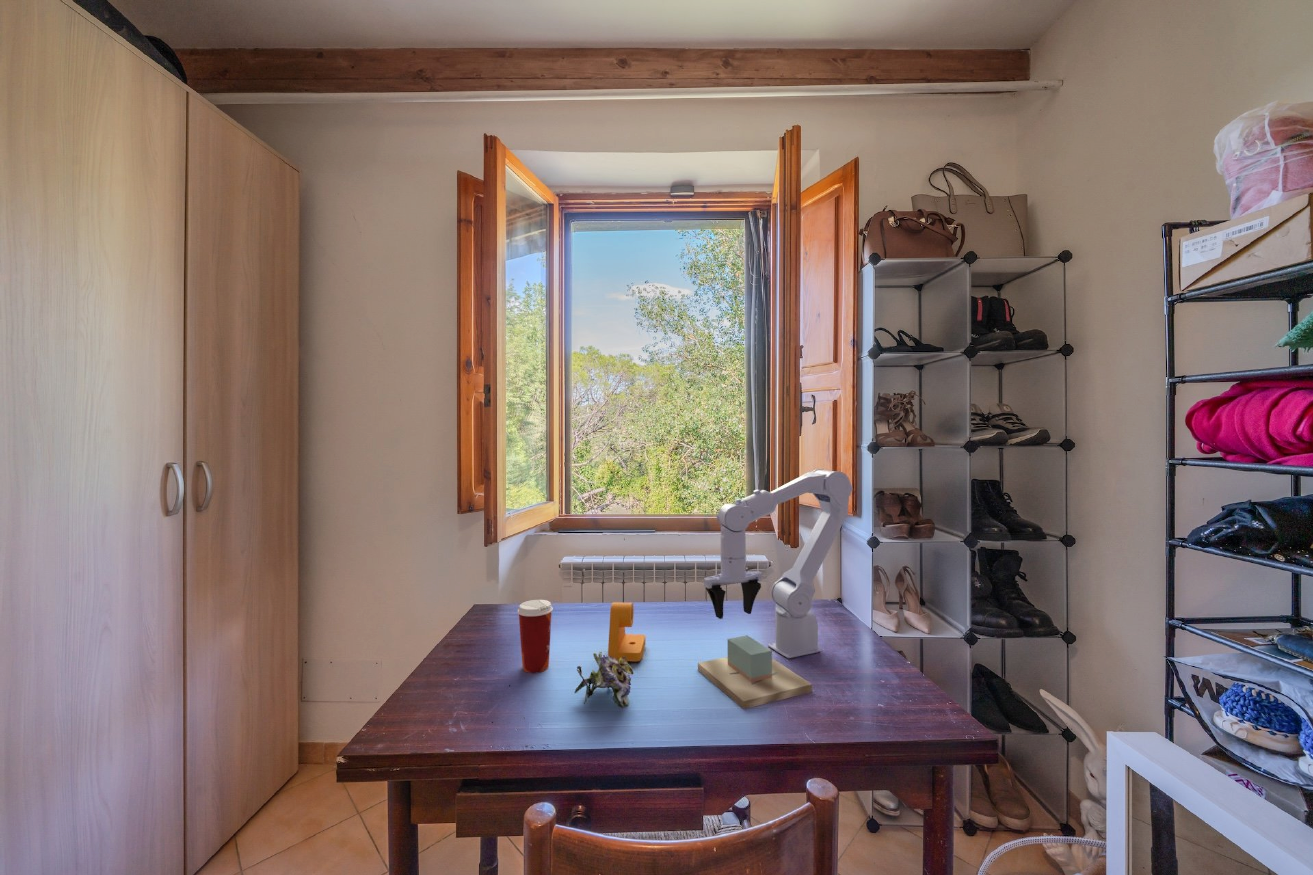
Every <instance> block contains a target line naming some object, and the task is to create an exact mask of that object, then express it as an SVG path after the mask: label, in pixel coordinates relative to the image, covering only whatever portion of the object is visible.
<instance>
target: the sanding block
mask: <svg viewBox="0 0 1313 875" xmlns="http://www.w3.org/2000/svg"><path fill="white" fill-rule="evenodd" d="M727 657H728V665H729V666H730V667H732V668H733V669H734V670H736V671H737V672H738V673H740V674H741V675H742V676H744V677H745V678H746V679H748V680H749V681H750V682H755V681H759V680H764V679H768V678H772V659H773V649H772V650H771V648H770V649H769V648H768V647H766V646H764V645H763V644H762V643H760V642H758V640H756V639H754V638H752V637H751V636H749V635H748V634H747V635H746V634H745V635H742V636H736V637H732V638H727Z"/></svg>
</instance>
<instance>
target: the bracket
mask: <svg viewBox="0 0 1313 875" xmlns="http://www.w3.org/2000/svg"><path fill="white" fill-rule="evenodd" d="M634 614H635V612H634V603H633V602H618V601H617V602H612V603H611V605H610V613H609V630H608V648H607V657H608V656H610V655H611V658H615V659H616V660H617V662H618V661H619V659H620V658H622V659H623V656H625V658H626V661H627V662H640V661H642V660H643V656H644V654H645V651H646V649H645V647H646V645H647V644H646V635H645V634H638V633H637V634H635V633H634V634H633V633H631V634H629V633H626V628H632V627H633V623H634V617H635V616H634ZM608 658H609V657H608Z"/></svg>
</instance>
